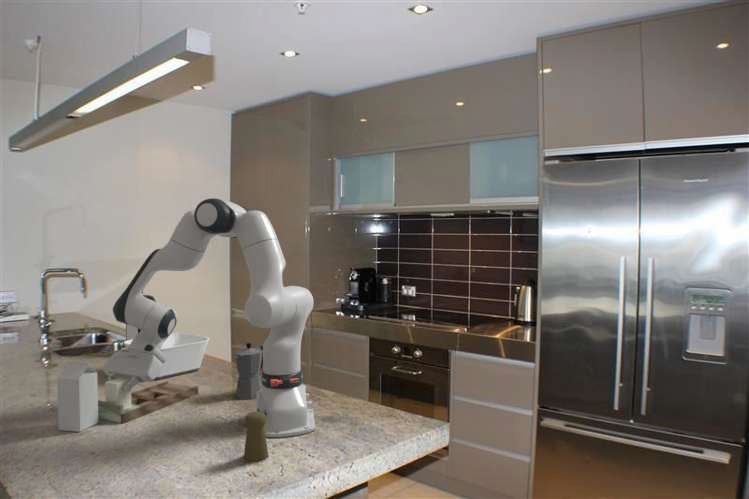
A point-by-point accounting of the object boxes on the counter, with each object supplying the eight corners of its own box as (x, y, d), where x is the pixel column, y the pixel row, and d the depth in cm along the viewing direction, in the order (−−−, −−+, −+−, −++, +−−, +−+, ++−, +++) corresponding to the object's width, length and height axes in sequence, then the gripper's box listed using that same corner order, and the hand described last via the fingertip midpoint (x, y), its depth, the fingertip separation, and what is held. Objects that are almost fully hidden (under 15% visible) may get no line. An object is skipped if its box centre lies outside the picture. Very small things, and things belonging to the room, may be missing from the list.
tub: (140, 388, 183) (140, 352, 183) (109, 375, 201) (108, 342, 200) (223, 368, 209) (222, 337, 208) (189, 358, 226) (188, 330, 226)
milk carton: (80, 432, 142) (78, 364, 141) (58, 430, 143) (56, 363, 143) (98, 423, 149) (97, 358, 148) (77, 421, 150) (76, 357, 150)
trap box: (166, 388, 182) (166, 374, 182) (198, 393, 176) (198, 379, 175) (88, 416, 155) (88, 399, 154) (123, 423, 148) (122, 406, 148)
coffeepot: (248, 403, 166) (248, 348, 165) (225, 399, 169) (224, 345, 169) (275, 389, 180) (275, 339, 179) (253, 386, 184) (253, 337, 183)
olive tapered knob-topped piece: (270, 451, 128) (269, 408, 128) (266, 462, 122) (265, 417, 122) (246, 452, 128) (245, 409, 128) (240, 463, 122) (240, 417, 122)
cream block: (120, 404, 159) (119, 377, 159) (131, 406, 157) (130, 379, 156) (105, 409, 154) (105, 382, 154) (117, 412, 152) (116, 384, 152)
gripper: (113, 342, 166) (86, 380, 157) (159, 348, 157) (133, 388, 148) (125, 353, 170) (99, 390, 161) (171, 359, 161) (146, 399, 153)
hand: (116, 389), depth 155 cm, fingers open, 6 cm apart
